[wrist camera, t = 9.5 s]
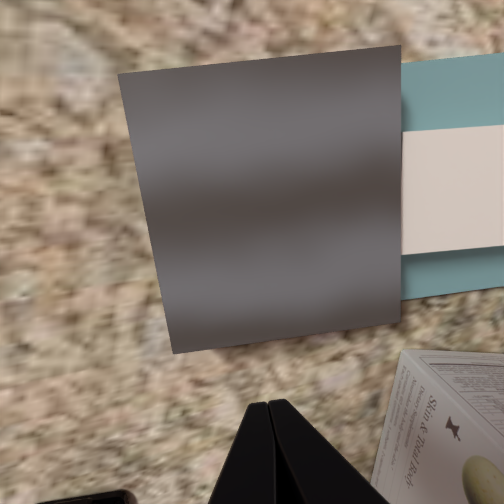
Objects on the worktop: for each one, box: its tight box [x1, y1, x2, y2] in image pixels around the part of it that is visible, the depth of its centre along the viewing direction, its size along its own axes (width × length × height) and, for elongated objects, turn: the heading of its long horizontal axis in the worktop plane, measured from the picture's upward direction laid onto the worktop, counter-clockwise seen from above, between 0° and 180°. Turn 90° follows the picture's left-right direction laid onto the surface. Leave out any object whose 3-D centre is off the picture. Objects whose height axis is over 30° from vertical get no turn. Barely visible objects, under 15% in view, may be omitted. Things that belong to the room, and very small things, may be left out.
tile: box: [401, 125, 504, 255], centre depth 16 cm, size 6×9×2 cm, turn 94°
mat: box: [401, 53, 504, 300], centre depth 17 cm, size 13×12×1 cm
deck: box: [117, 45, 401, 354], centre depth 16 cm, size 13×12×3 cm
